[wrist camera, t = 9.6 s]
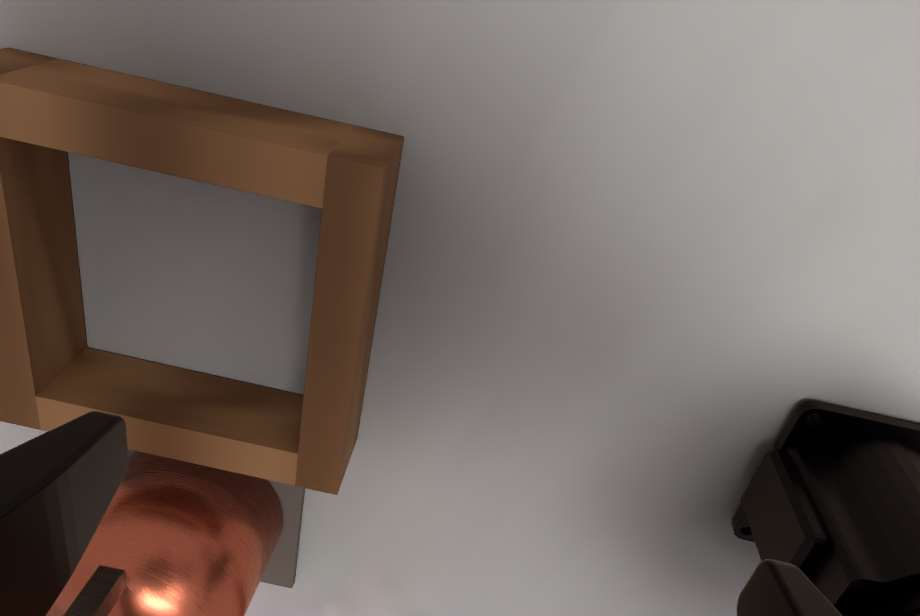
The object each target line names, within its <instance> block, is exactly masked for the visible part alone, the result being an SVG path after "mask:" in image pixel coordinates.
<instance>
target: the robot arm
mask: <svg viewBox="0 0 920 616" xmlns="http://www.w3.org/2000/svg"><path fill="white" fill-rule="evenodd" d="M812 414H817V415H816V416H815V417H813V418H810V419H807V417H808V416H810V415H812ZM127 467H128V445H127V431H126V423H125V420H124V419H123V418H122V417H120V416H118V415H113V414H109V413H104V412H100V411H92V412H89V413H86V414H84V415H82V416H80V417H78V418H76V419H73V420H71V421H69V422H67V423H65V424H63V425H61V426H59V427H57V428H55V429H52V430H50V431H48V432H46V433H44V434H42V435H40V436H38V437H36V438H34V439H31V440H29V441H27V442H25V443H23V444H21V445H19V446H17V447H15V448H13V449H10V450H8V451H6V452H4V453H2V454H0V616H46V615H47V613H48V612H49V610H50V609H51V607H52V606H53V604H54V603H55V601H56V600H57V598H58V597H59V595H60V594H61V592H62V590H63V589H64V587H65V586H66V584H67V583H68V581H69V579H70V578H71V576H72V574H73V573H74V571H75V569H76V567H77V565H78V564H79V562H80V560H81V558H82V556H83V554H84V553H85V551H86V549H87V547H88V545H89V543H90V541H91V539H92V537H93V535H94V534H95V532H96V530H97V528H98V526H99V524H100V522H101V520H102V518H103V516H104V515H105V513H106V511H107V509H108V507H109V505H110V503H111V501H112V499H113V497H114V496H115V494H116V492H117V490H118V488H119V486H120V484H121V482H122V480H123V478H124V476H125V474H126V471H127ZM731 524H732V528H733V531H734V534H735V535H736V536H737V537H738V538H740V539H743V540H748V541H752V542H755V543H756V546H757V549H758V552H759V555H760V558H761V562H760V564H759V565H758V566H757V568H756V569H755V571H754V573H753V574H752V576H751V577H750V579H749V581H748V582H747V584H746V585H745V587H744V588H743V590H742V592H741V593H740V595H739V598H738V603H737V616H920V424H915V423H911V422H906V421H902V420H897V419H893V418H888V417H884V416H879V415H875V414H870V413H866V412H861V411H857V410H852V409H848V408H843V407H839V406H834V405H830V404H825V403H821V402H816V401H808V402H804V403H802V404H801V405H799V406H798V407H797V408H796V409H795V411H794V413H793V415H792V416H791V418H790V420H789V422H788V423H787V425H786V427H785V428H784V430H783V432H782V434H781V435H780V437H779V439H778V441H777V442H776V444H775V446H774V448H773V449H772V450H771V451H770V452H768V453H767V455H766V456H765V458H764V460H763V462H762V463H761V465H760V467H759V469H758V470H757V472H756V474H755V475H754V477H753V479H752V481H751V482H750V484H749V486H748V488H747V489H746V491H745V493H744V495H743V496H742V498H741V505H740V507H739V509H738V510H737V512H736V514H735V515H734V517H733V519H732V522H731ZM744 526H747V527H744Z"/></svg>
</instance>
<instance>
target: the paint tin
mask: <svg viewBox="0 0 920 616" xmlns="http://www.w3.org/2000/svg"><path fill="white" fill-rule="evenodd" d="M282 529H283V512H282V508H281V505H280V502H279V500H278V497H277V495H276V494H275V492H274V490H273V489H272V487H271V486H270V484H269V483H268V482H267V481H266V479H262V478H258V477H253V476H249V475H244V474H240V473H235V472H230V471H226V470H221V469H217V468H212V467H208V466H203V465H199V464H194V463H189V462H185V461H180V460H176V459H171V458H167V457H162V456H158V455H153V454H149V453H144V452H139V451H136V452H135V453H133V454H132V455H131V456H130V458H129V459H128V467H127V471H126V474H125V476H124V478H123V480H122V482H121V484H120V486H119V488H118V490H117V492H116V494H115V496H114V497H113V499H112V501H111V503H110V505H109V507H108V509H107V511H106V513H105V515H104V516H103V518H102V520H101V522H100V524H99V526H98V528H97V530H96V532H95V534H94V535H93V537H92V539H91V541H90V543H89V545H88V547H87V549H86V551H85V553H84V554H83V556H82V558H81V560H80V562H79V564H78V565H77V567H76V569H75V571H74V573H73V574H72V576H71V578H70V579H69V581H68V583H67V584H66V586H65V587H64V589H63V590H62V592H61V594H60V595H59V597H58V598H57V600H56V601H55V603H54V604H53V606H52V607H51V609H50V610H49V612H48V613H47V615H46V616H244V615H245V613H246V611H247V609H248V606H249V604H250V602H251V600H252V598H253V595H254V593H255V591H256V589H257V587H258V584H259V582H260V580H261V578H262V575H263V573H264V571H265V569H266V567H267V564H268V562H269V560H270V558H271V556H272V553H273V551H274V549H275V547H276V545H277V542H278V540H279V538H280V535H281V532H282Z"/></svg>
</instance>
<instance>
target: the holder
mask: <svg viewBox="0 0 920 616" xmlns="http://www.w3.org/2000/svg"><path fill="white" fill-rule="evenodd" d="M403 141H404V137H403V136H398V135H394V134H389V133H385V132H381V131H376V130H372V129H367V128H363V127H358V126H354V125H349V124H345V123H341V122H336V121H332V120H327V119H323V118H318V117H314V116H309V115H305V114H301V113H296V112H292V111H287V110H283V109H278V108H274V107H269V106H265V105H261V104H256V103H252V102H247V101H243V100H238V99H234V98H229V97H225V96H221V95H216V94H212V93H207V92H203V91H198V90H194V89H189V88H185V87H181V86H176V85H172V84H167V83H163V82H158V81H154V80H149V79H145V78H141V77H136V76H132V75H127V74H123V73H118V72H114V71H109V70H105V69H101V68H96V67H92V66H87V65H83V64H78V63H74V62H69V61H65V60H61V59H56V58H52V57H47V56H43V55H38V54H34V53H29V52H25V51H21V50H16V49H12V48H4V49H0V421H3V422H7V423H12V424H17V425H21V426H26V427H30V428H35V429H39V430H44V431H50V430H52V429H55V428H57V427H59V426H61V425H63V424H65V423H67V422H69V421H71V420H73V419H76V418H78V417H80V416H82V415H84V414H86V413H89V412H92V411H100V412H104V413H109V414H113V415H118V416H120V417H122V418H123V419H124V420H125V423H126V431H127V445H128V449H130V450H135V451H139V452H144V453H149V454H153V455H158V456H162V457H167V458H171V459H176V460H180V461H185V462H189V463H194V464H199V465H203V466H208V467H212V468H217V469H221V470H226V471H230V472H235V473H240V474H244V475H249V476H253V477H258V478H262V479H267V480H271V481H276V482H281V483H285V484H290V485H294V486H299V487H303V488H308V489H312V490H317V491H321V492H326V493H331V494H335V495H337V494H338V491H339V488H340V485H341V482H342V480H343V477H344V474H345V471H346V468H347V465H348V463H349V460H350V457H351V454H352V451H353V448H354V446H355V443H356V440H357V436H358V429H359V423H360V416H361V410H362V404H363V397H364V391H365V384H366V378H367V372H368V365H369V359H370V352H371V346H372V340H373V333H374V327H375V320H376V314H377V307H378V301H379V295H380V288H381V282H382V275H383V269H384V263H385V256H386V250H387V243H388V237H389V230H390V224H391V218H392V211H393V205H394V198H395V192H396V186H397V179H398V173H399V166H400V160H401V153H402V147H403ZM67 152H71V153H75V154H80V155H84V156H88V157H93V158H97V159H102V160H106V161H111V162H115V163H120V164H124V165H129V166H133V167H138V168H142V169H147V170H151V171H155V172H160V173H164V174H169V175H173V176H178V177H182V178H187V179H191V180H196V181H200V182H205V183H209V184H214V185H218V186H223V187H227V188H231V189H236V190H240V191H245V192H249V193H254V194H258V195H263V196H267V197H272V198H276V199H281V200H285V201H290V202H294V203H299V204H303V205H307V206H312V207H316V208H321V209H322V216H321V226H320V236H319V246H318V256H317V267H316V277H315V287H314V297H313V307H312V317H311V327H310V338H309V348H308V358H307V368H306V378H305V388H304V395H299V394H295V393H290V392H286V391H281V390H277V389H272V388H267V387H263V386H258V385H254V384H249V383H245V382H240V381H236V380H231V379H227V378H222V377H218V376H213V375H209V374H204V373H200V372H195V371H191V370H186V369H182V368H177V367H172V366H168V365H163V364H159V363H154V362H150V361H145V360H141V359H136V358H132V357H127V356H123V355H118V354H114V353H109V352H105V351H100V350H96V349H91V348H87V341H86V331H85V322H84V312H83V302H82V293H81V283H80V273H79V263H78V254H77V244H76V234H75V225H74V215H73V205H72V195H71V186H70V176H69V166H68V157H67Z"/></svg>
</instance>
